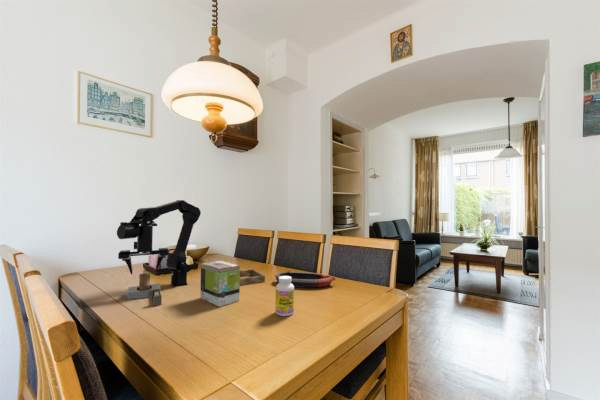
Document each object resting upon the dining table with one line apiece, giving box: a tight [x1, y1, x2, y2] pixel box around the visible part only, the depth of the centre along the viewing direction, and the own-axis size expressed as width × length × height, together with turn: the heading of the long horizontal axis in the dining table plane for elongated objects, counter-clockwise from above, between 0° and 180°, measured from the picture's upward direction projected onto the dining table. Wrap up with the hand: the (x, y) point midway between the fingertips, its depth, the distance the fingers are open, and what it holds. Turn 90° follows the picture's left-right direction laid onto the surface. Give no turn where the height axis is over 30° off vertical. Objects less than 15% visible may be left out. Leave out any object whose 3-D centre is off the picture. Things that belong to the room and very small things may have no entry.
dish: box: [274, 270, 337, 289], centre depth 134 cm, size 16×31×5 cm, turn 75°
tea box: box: [199, 260, 241, 307], centre depth 111 cm, size 15×10×15 cm, turn 47°
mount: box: [127, 283, 162, 301], centre depth 117 cm, size 12×9×3 cm
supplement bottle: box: [275, 276, 295, 317], centre depth 97 cm, size 7×7×13 cm
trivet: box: [240, 268, 266, 286], centre depth 141 cm, size 17×17×3 cm
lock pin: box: [152, 290, 163, 306], centre depth 109 cm, size 3×12×3 cm, turn 30°
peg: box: [138, 272, 151, 290], centre depth 117 cm, size 4×4×9 cm
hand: (144, 273), depth 117 cm, fingers open, 9 cm apart
